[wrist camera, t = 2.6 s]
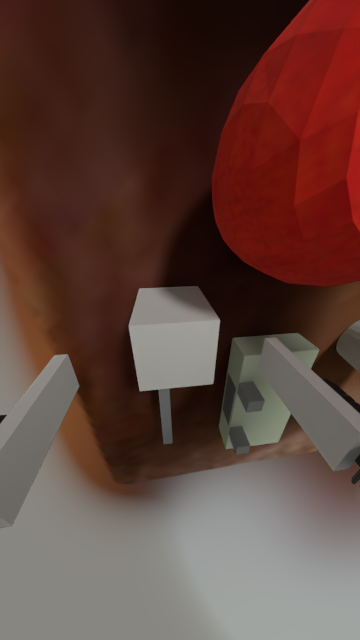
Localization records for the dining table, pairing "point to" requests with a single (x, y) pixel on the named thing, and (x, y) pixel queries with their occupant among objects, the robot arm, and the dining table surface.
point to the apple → (297, 153)
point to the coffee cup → (350, 345)
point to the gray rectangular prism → (173, 338)
